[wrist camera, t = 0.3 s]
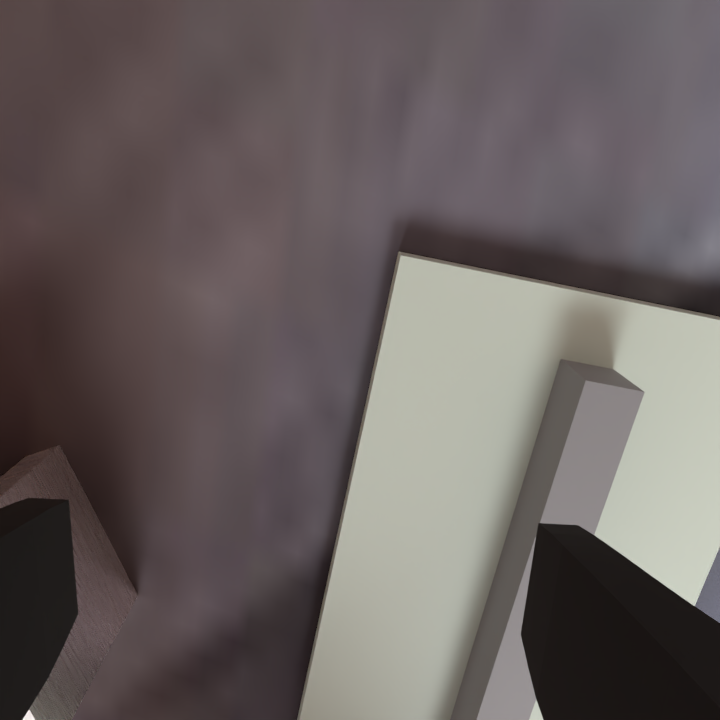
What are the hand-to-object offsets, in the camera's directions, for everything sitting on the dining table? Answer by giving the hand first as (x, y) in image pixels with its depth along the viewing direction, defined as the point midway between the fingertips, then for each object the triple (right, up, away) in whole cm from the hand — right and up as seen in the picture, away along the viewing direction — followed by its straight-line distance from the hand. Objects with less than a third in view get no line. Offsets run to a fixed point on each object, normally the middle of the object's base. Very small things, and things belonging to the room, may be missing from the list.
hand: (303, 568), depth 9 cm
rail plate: (+6, -4, +11) cm, 14 cm away
